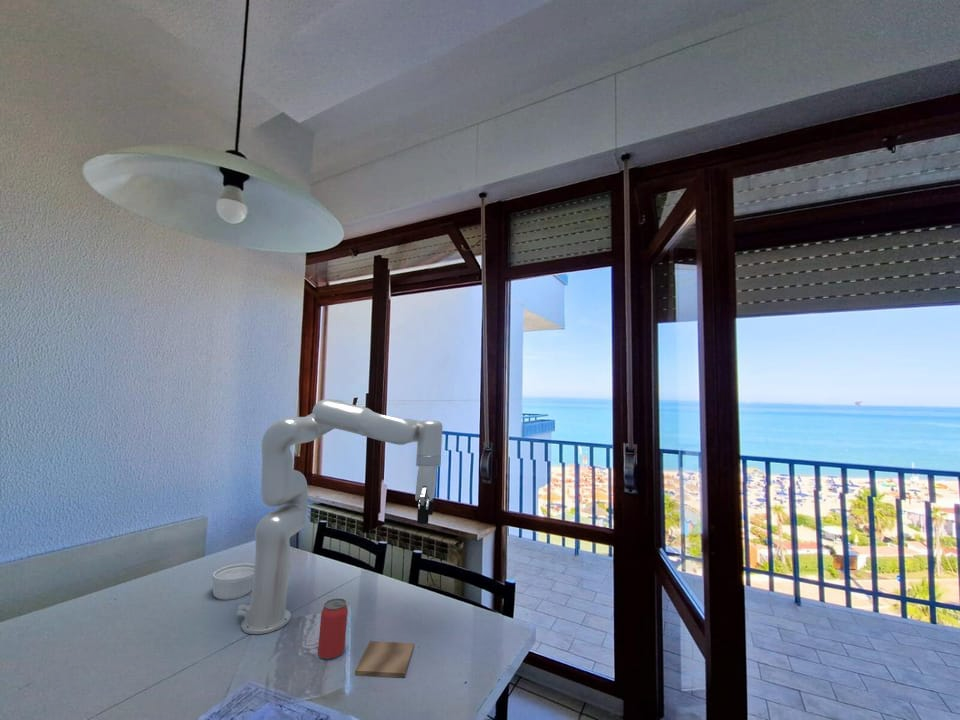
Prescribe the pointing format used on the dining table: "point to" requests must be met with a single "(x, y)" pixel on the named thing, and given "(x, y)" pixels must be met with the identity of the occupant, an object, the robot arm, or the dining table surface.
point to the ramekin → (233, 581)
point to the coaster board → (385, 659)
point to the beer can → (332, 628)
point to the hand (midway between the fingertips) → (425, 518)
